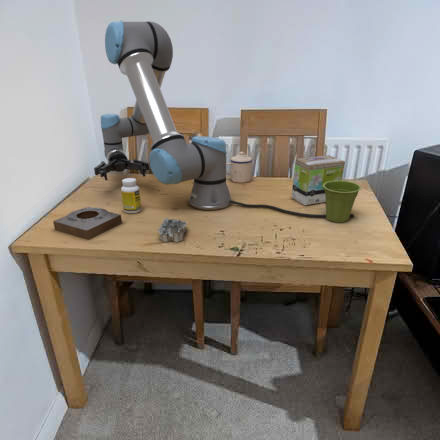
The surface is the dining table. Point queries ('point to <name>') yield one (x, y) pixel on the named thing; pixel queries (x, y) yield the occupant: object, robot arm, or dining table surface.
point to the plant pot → (340, 199)
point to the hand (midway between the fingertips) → (125, 174)
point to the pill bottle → (130, 196)
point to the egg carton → (172, 230)
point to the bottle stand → (87, 222)
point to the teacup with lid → (240, 168)
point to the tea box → (315, 177)
